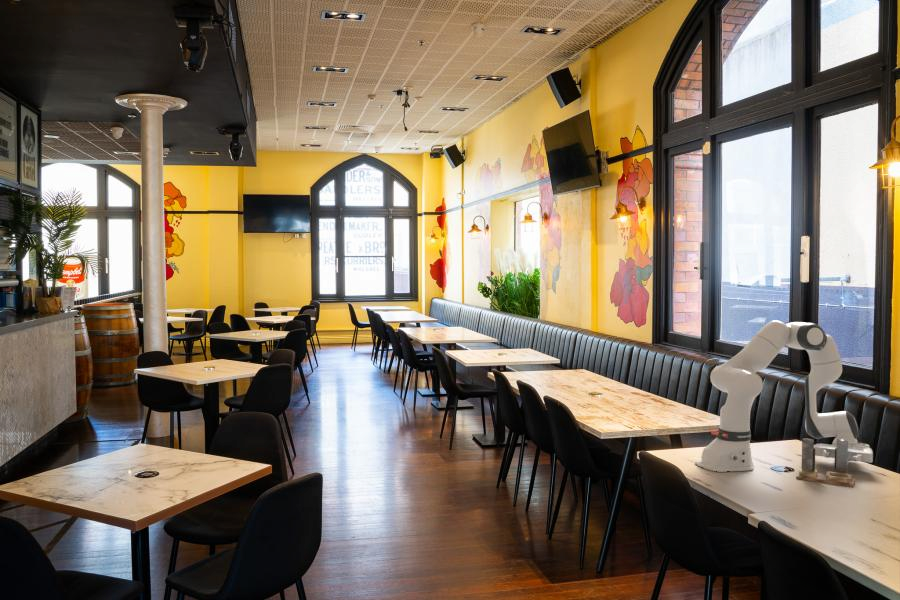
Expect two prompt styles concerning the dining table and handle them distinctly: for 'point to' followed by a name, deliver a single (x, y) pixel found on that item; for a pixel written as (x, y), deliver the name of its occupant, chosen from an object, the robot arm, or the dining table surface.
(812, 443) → the twin post stand
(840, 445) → the grey tall block
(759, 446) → the dining table surface
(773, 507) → the dining table surface
